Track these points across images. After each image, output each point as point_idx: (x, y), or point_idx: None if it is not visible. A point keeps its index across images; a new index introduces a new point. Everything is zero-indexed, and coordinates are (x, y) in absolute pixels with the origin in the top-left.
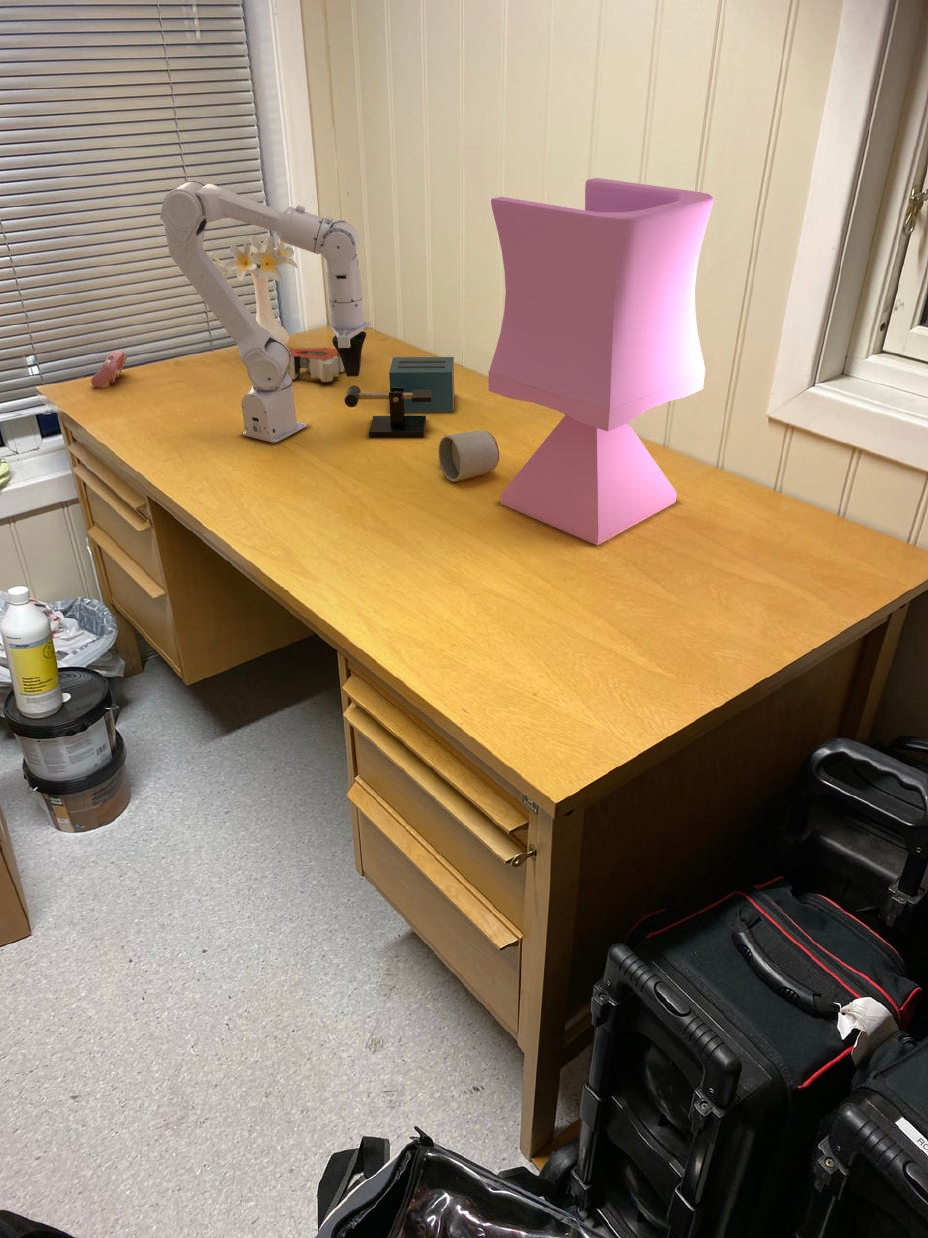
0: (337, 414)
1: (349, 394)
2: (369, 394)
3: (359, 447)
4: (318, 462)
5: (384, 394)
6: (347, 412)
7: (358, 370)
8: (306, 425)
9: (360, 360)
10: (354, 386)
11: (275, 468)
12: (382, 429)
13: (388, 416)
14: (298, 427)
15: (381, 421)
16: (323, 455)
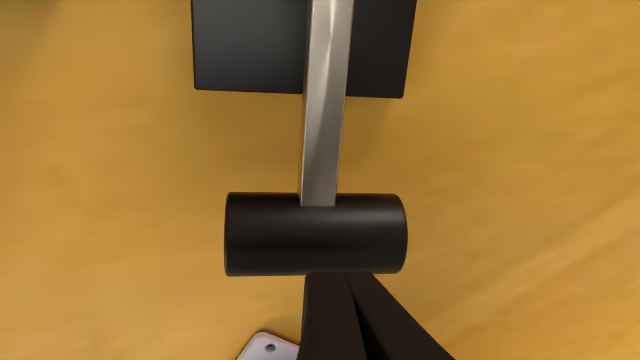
0: (116, 246)
1: (399, 260)
2: (338, 135)
3: (480, 126)
4: (569, 249)
5: (350, 24)
6: (86, 210)
7: (394, 299)
8: (266, 335)
9: (344, 346)
10: (251, 248)
11: (572, 351)
12: (382, 33)
13: (204, 4)
14: (291, 355)
15: (277, 42)
16: (519, 242)
